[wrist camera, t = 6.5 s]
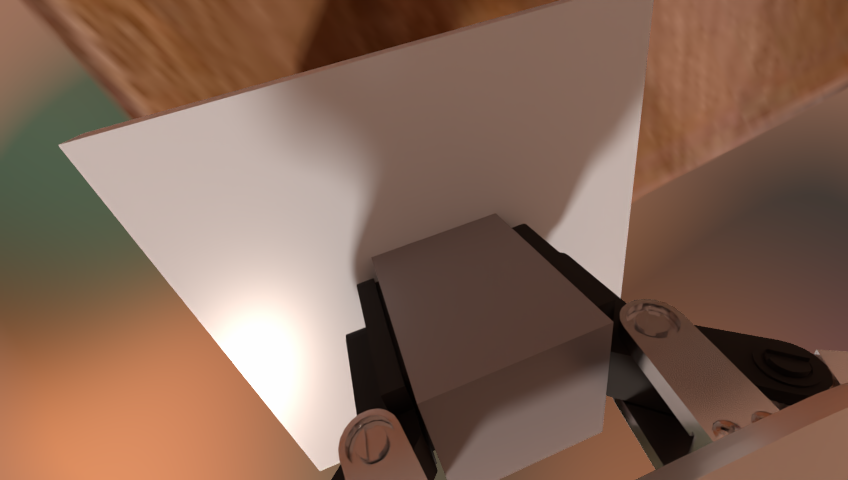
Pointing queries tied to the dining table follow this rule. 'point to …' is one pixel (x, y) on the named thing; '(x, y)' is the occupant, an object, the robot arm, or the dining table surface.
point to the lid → (406, 224)
